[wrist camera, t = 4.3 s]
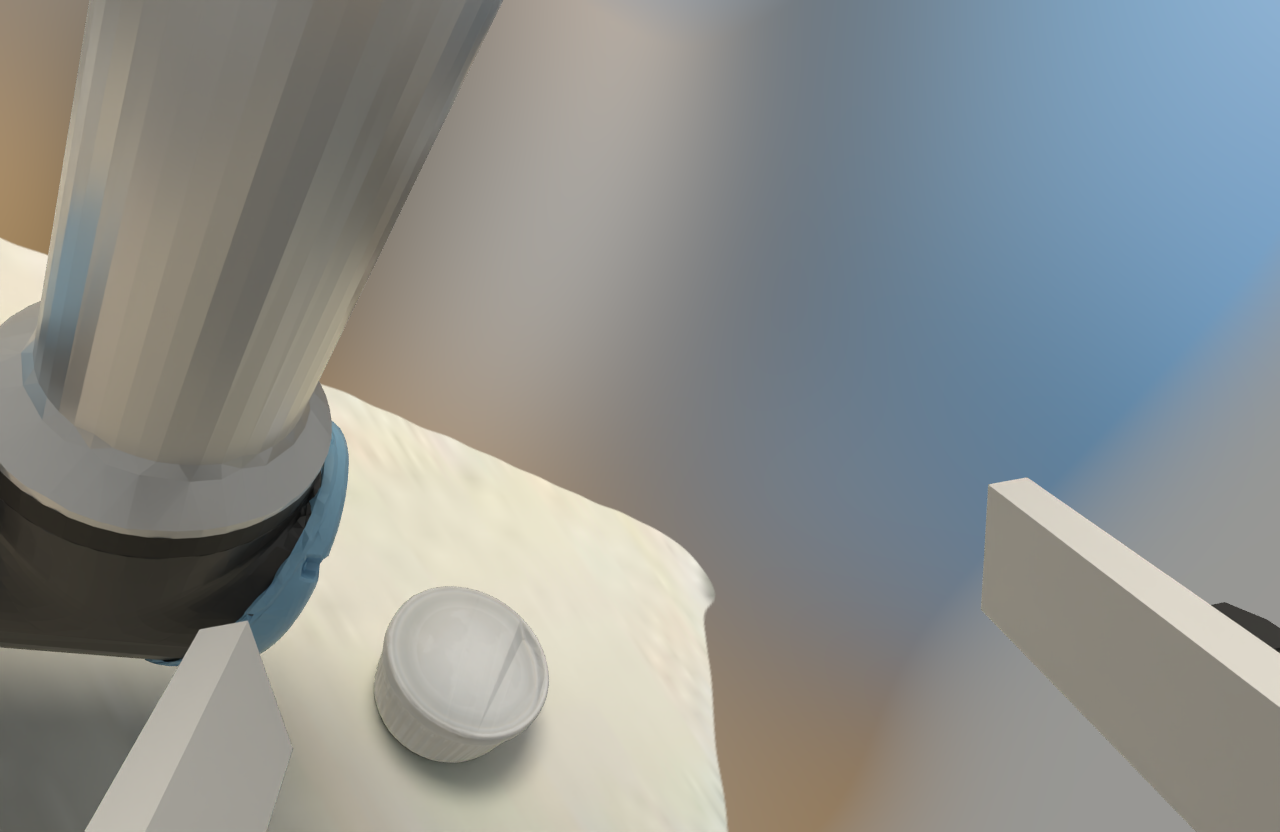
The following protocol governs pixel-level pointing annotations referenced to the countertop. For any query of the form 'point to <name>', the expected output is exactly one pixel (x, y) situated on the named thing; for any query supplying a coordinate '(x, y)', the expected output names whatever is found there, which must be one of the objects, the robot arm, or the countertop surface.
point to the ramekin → (458, 674)
